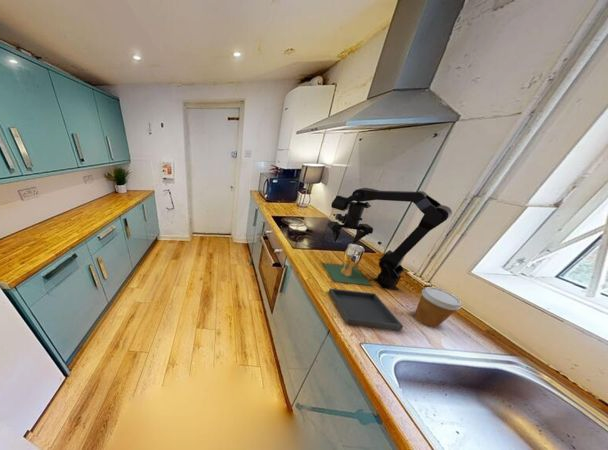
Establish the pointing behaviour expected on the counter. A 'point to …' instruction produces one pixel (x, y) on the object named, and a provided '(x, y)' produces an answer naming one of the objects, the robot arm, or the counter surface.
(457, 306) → the disposable coffee cup
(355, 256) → the beer glass
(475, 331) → the counter surface
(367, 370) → the counter surface
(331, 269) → the drying mat
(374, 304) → the dark grey tray
